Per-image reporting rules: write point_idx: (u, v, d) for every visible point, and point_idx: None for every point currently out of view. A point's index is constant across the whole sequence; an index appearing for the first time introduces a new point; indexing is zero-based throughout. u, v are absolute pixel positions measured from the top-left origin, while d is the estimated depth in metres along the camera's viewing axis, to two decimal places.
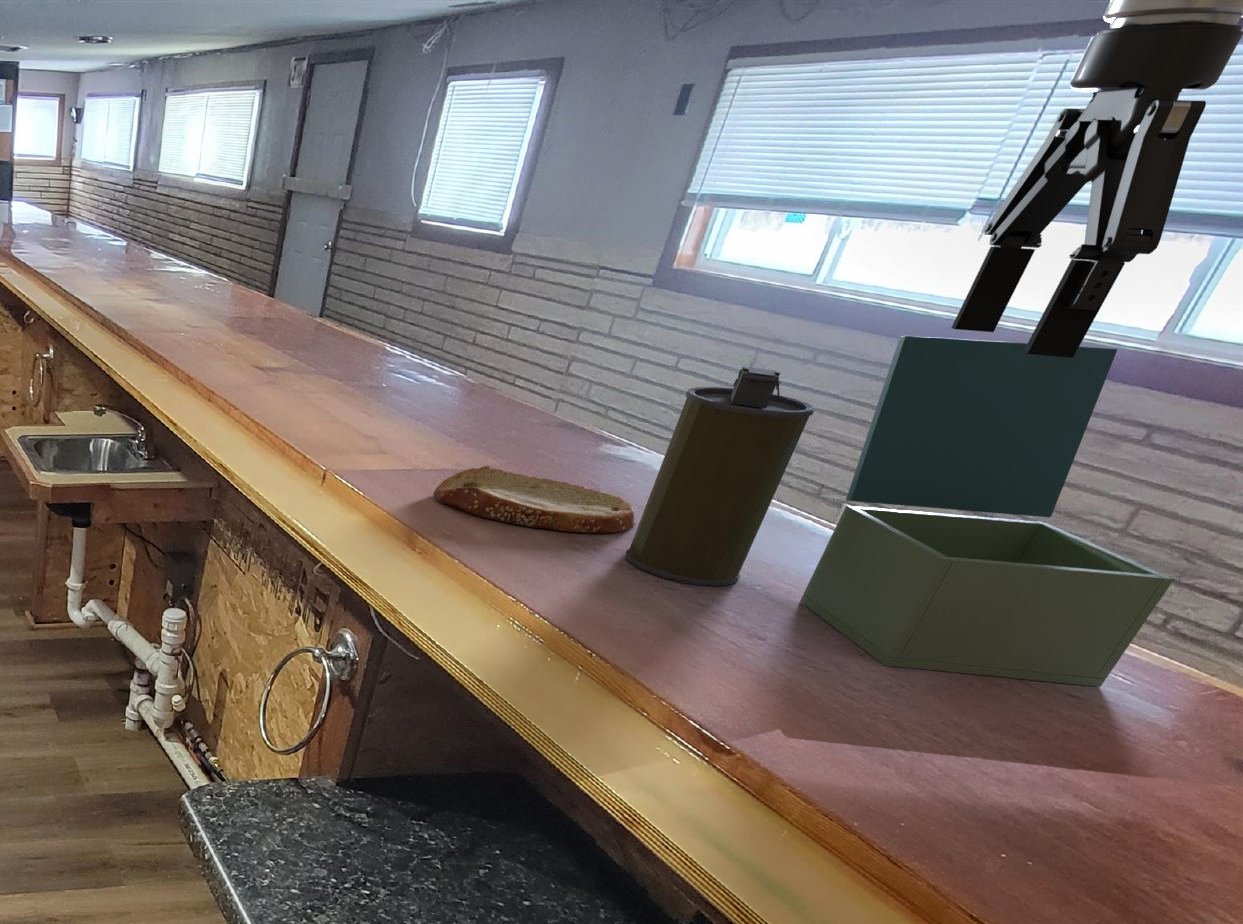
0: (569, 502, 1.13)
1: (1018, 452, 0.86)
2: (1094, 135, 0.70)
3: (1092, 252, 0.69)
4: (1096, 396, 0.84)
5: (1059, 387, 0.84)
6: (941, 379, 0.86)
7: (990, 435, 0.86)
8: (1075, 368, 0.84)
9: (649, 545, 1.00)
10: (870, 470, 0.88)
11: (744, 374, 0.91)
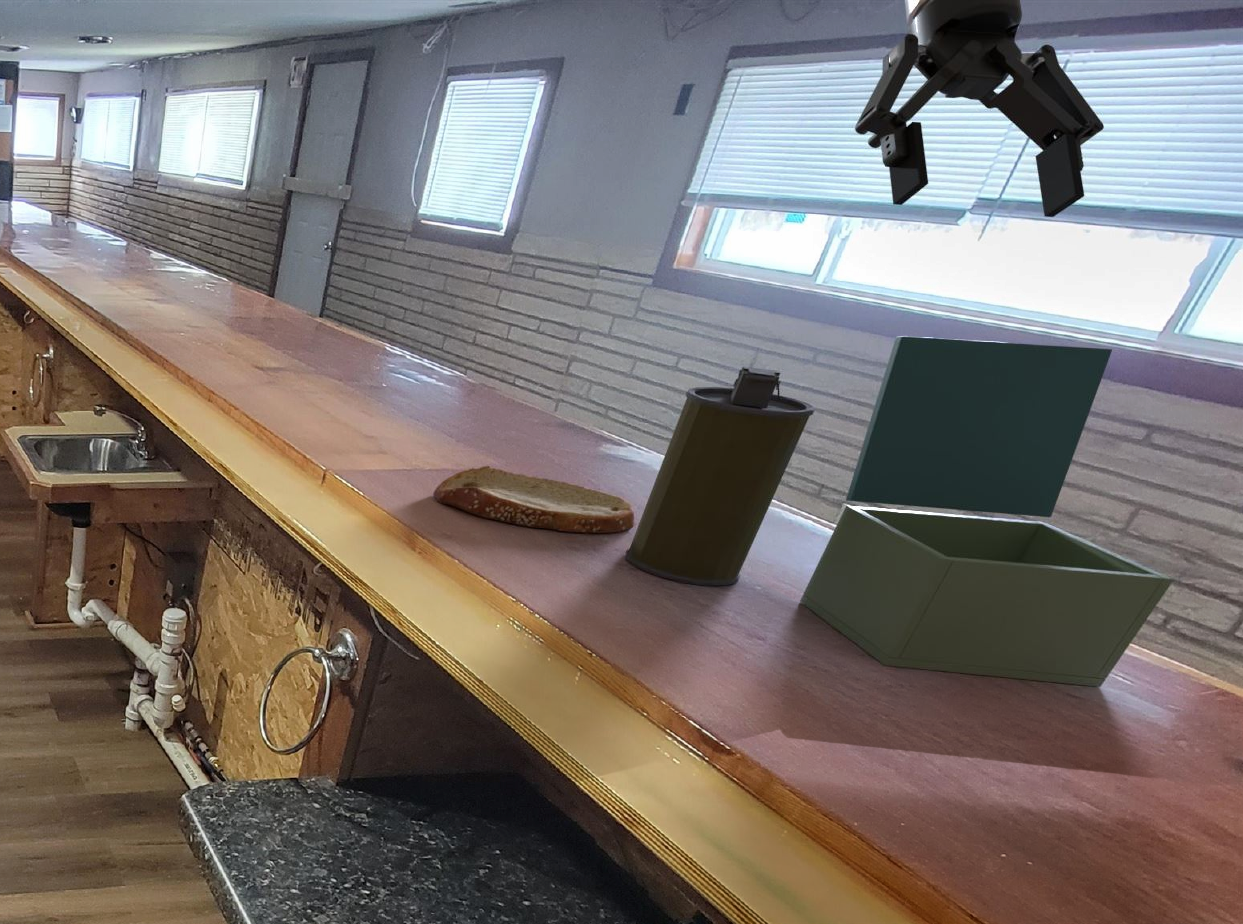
0: (569, 502, 1.13)
1: (1016, 452, 0.86)
2: None
3: (875, 136, 0.91)
4: (1092, 396, 0.85)
5: (1055, 387, 0.85)
6: (938, 379, 0.86)
7: (988, 435, 0.86)
8: (1071, 368, 0.84)
9: (649, 545, 1.00)
10: (869, 470, 0.89)
11: (744, 374, 0.91)
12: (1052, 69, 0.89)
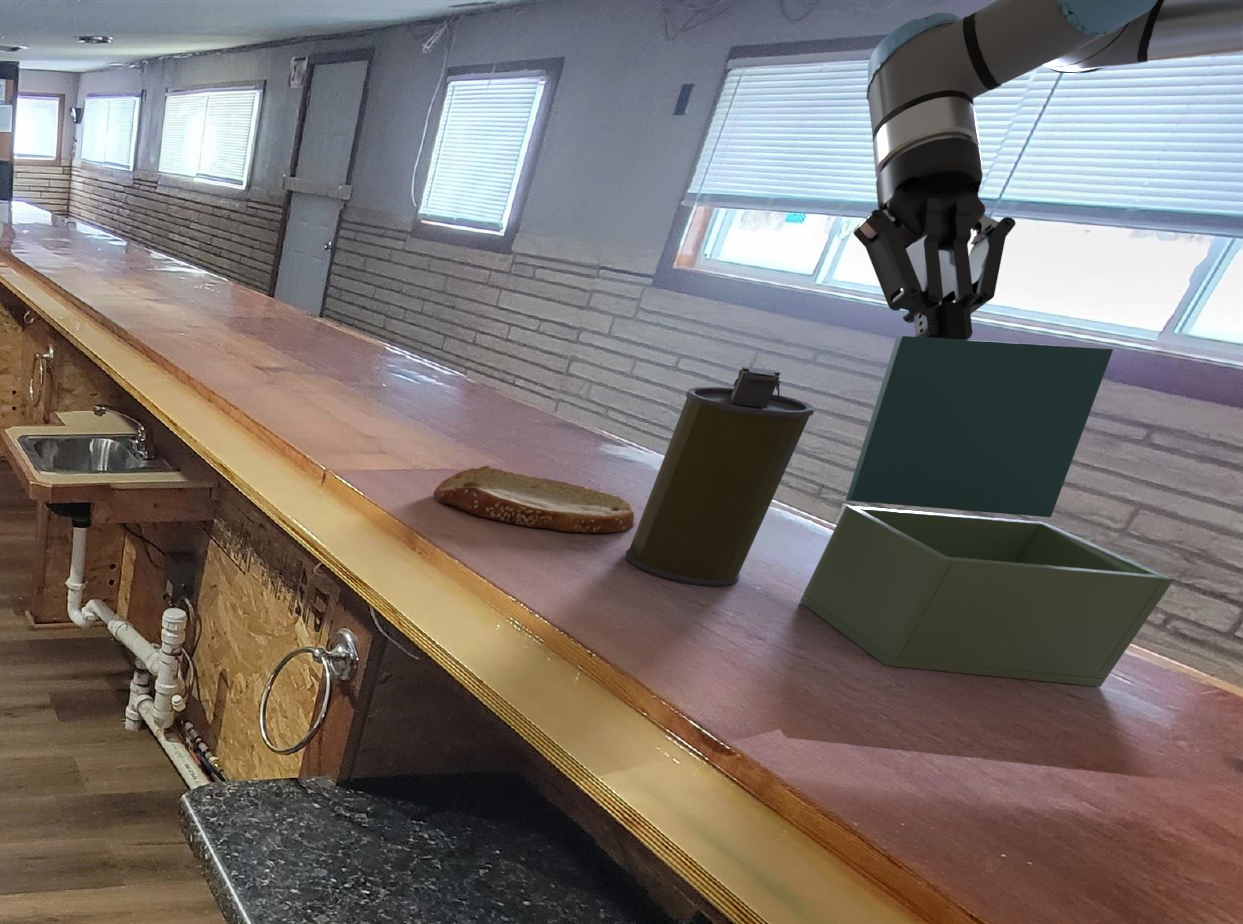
0: (569, 502, 1.13)
1: (1017, 452, 0.86)
2: None
3: (912, 315, 0.93)
4: (1093, 396, 0.84)
5: (1056, 387, 0.85)
6: (938, 379, 0.86)
7: (988, 435, 0.86)
8: (1071, 368, 0.84)
9: (649, 545, 1.00)
10: (869, 470, 0.88)
11: (744, 374, 0.91)
12: (995, 236, 0.92)
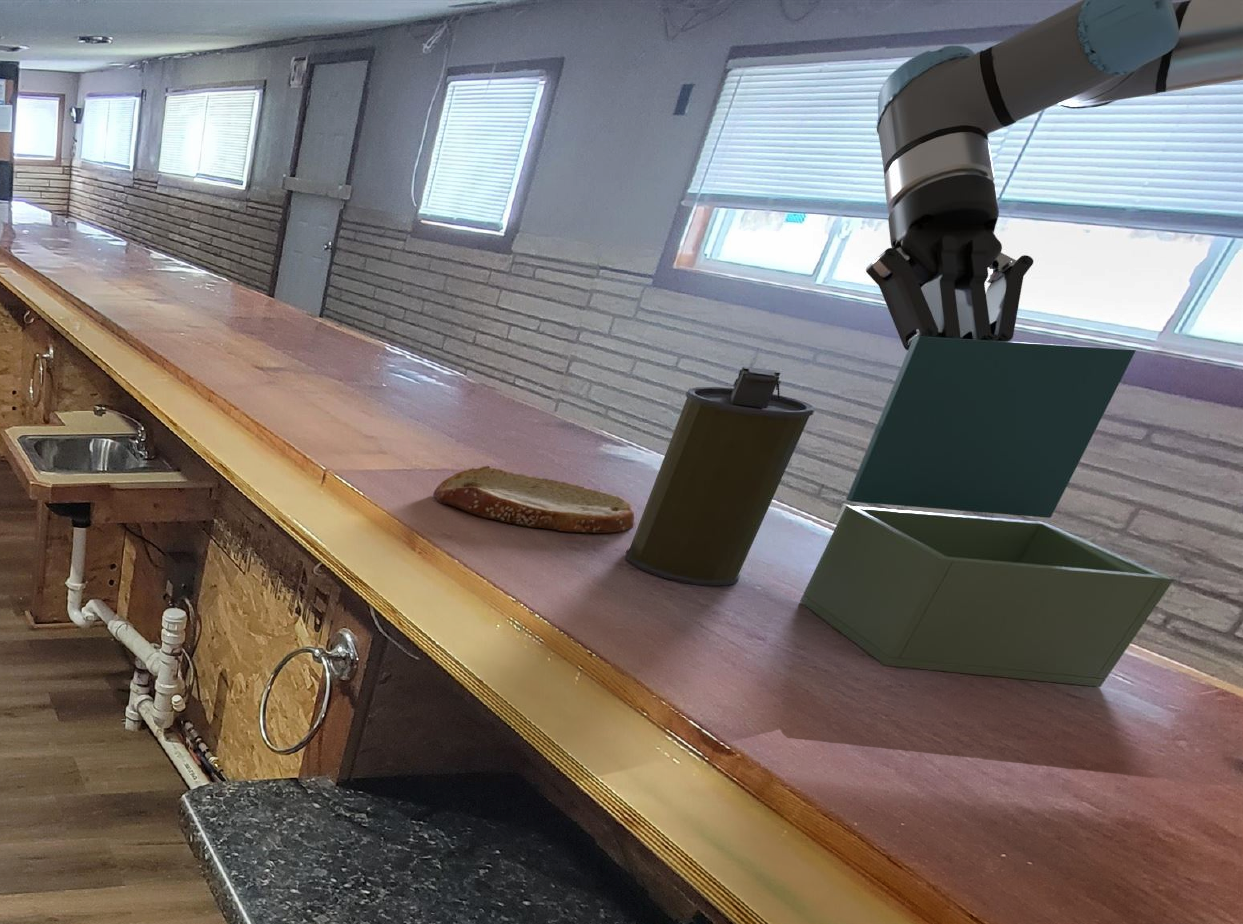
0: (569, 502, 1.13)
1: (1024, 453, 0.86)
2: None
3: None
4: (1109, 398, 0.83)
5: (1072, 388, 0.83)
6: (952, 380, 0.84)
7: (997, 437, 0.85)
8: (1090, 369, 0.82)
9: (649, 545, 1.00)
10: (872, 471, 0.88)
11: (744, 374, 0.91)
12: (1012, 275, 0.90)
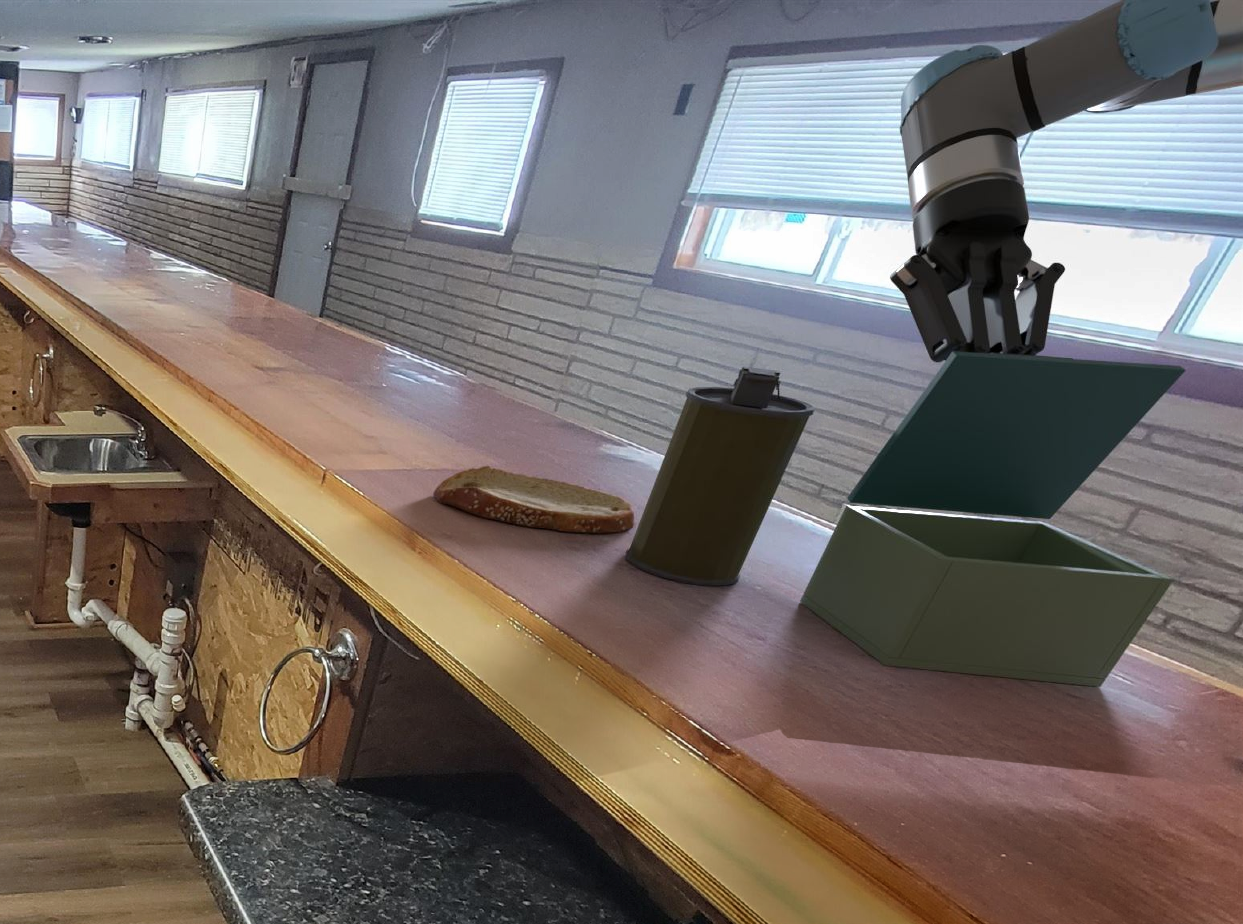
0: (569, 502, 1.13)
1: (1038, 463, 0.84)
2: None
3: None
4: (1142, 414, 0.80)
5: (1106, 405, 0.80)
6: (981, 397, 0.81)
7: (1014, 448, 0.84)
8: (1131, 388, 0.79)
9: (649, 545, 1.00)
10: (878, 477, 0.87)
11: (744, 374, 0.91)
12: (1043, 283, 0.86)
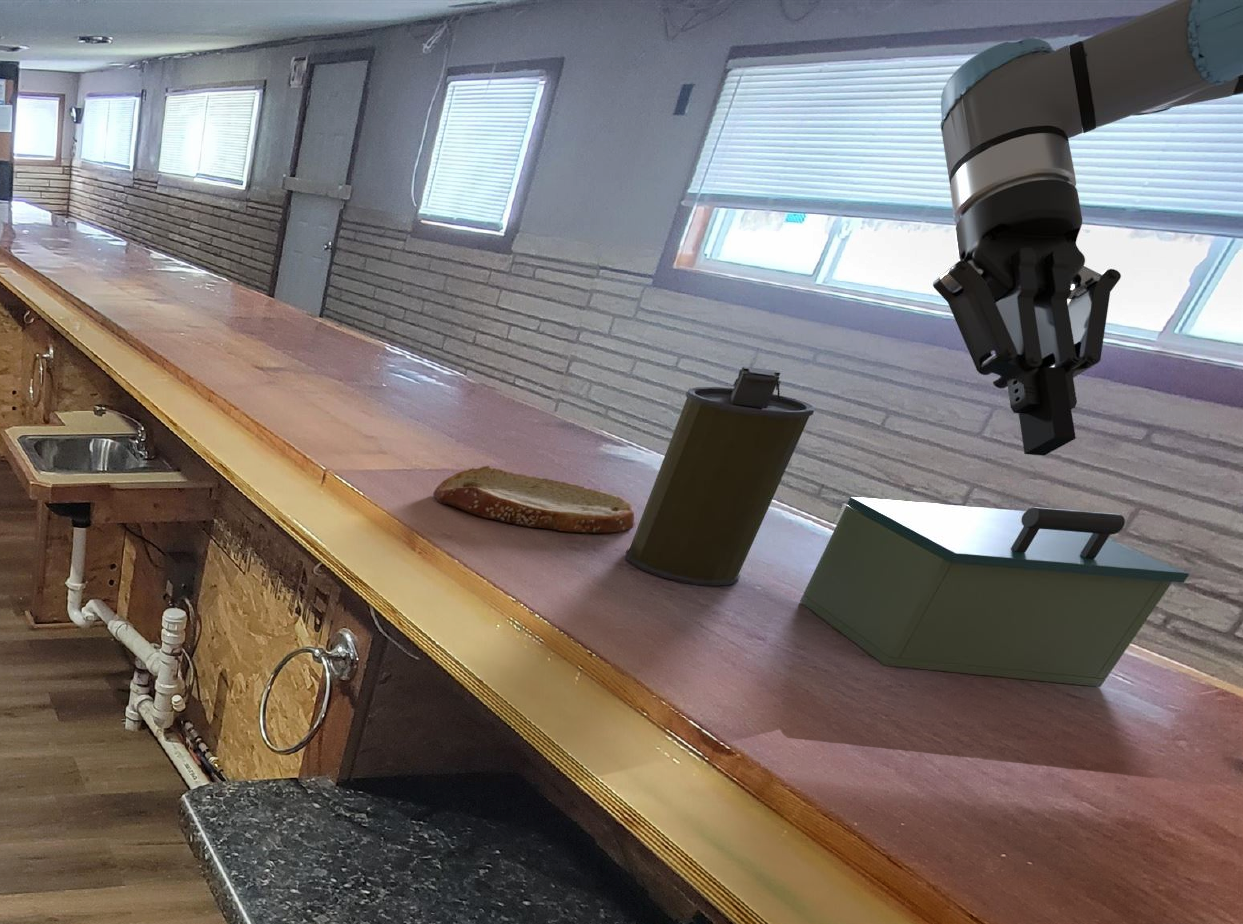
0: (569, 502, 1.13)
1: None
2: None
3: (1004, 381, 0.82)
4: None
5: None
6: None
7: None
8: None
9: (649, 545, 1.00)
10: None
11: (744, 374, 0.91)
12: (1098, 291, 0.81)
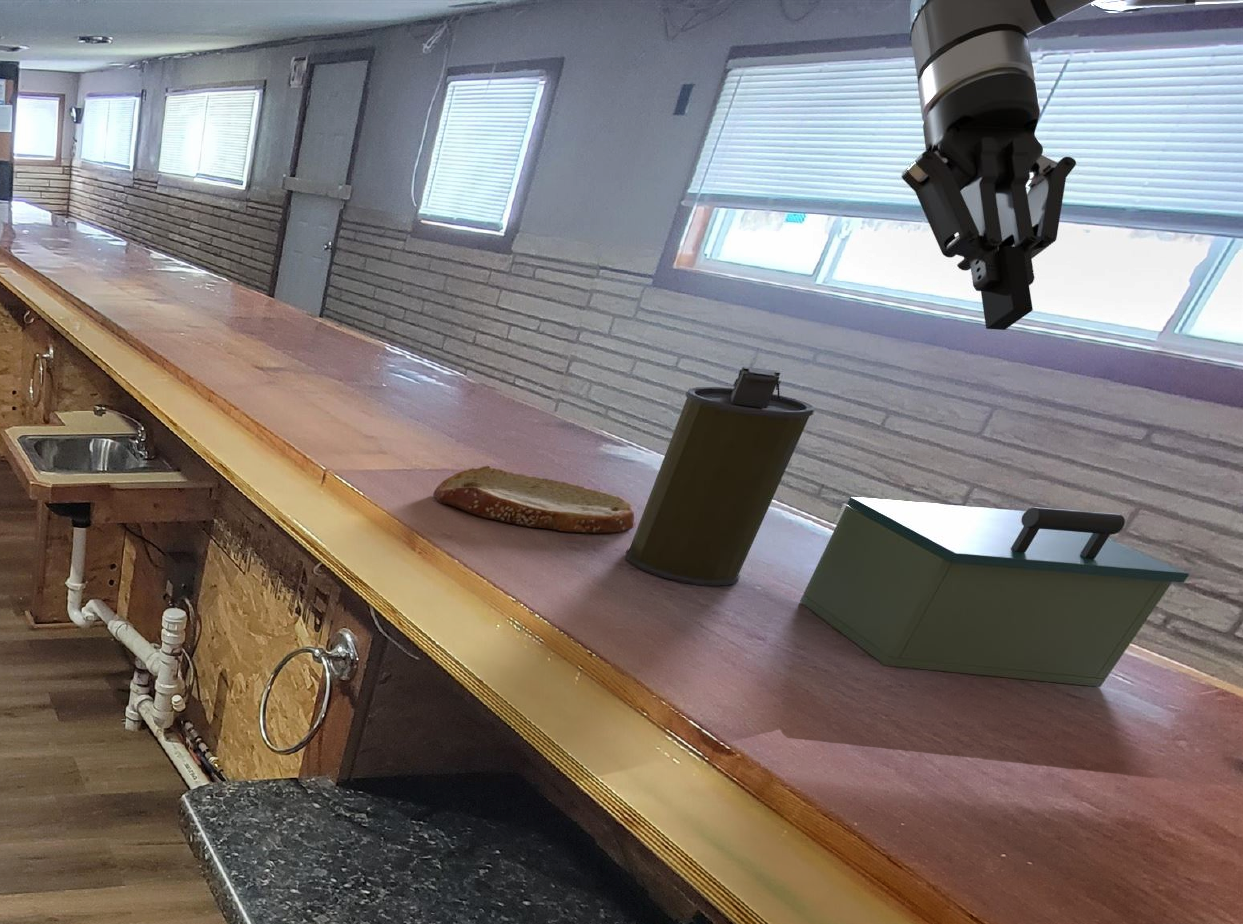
0: (569, 502, 1.13)
1: None
2: None
3: (967, 262, 0.88)
4: None
5: None
6: None
7: None
8: None
9: (649, 545, 1.00)
10: None
11: (744, 374, 0.91)
12: (1054, 177, 0.87)
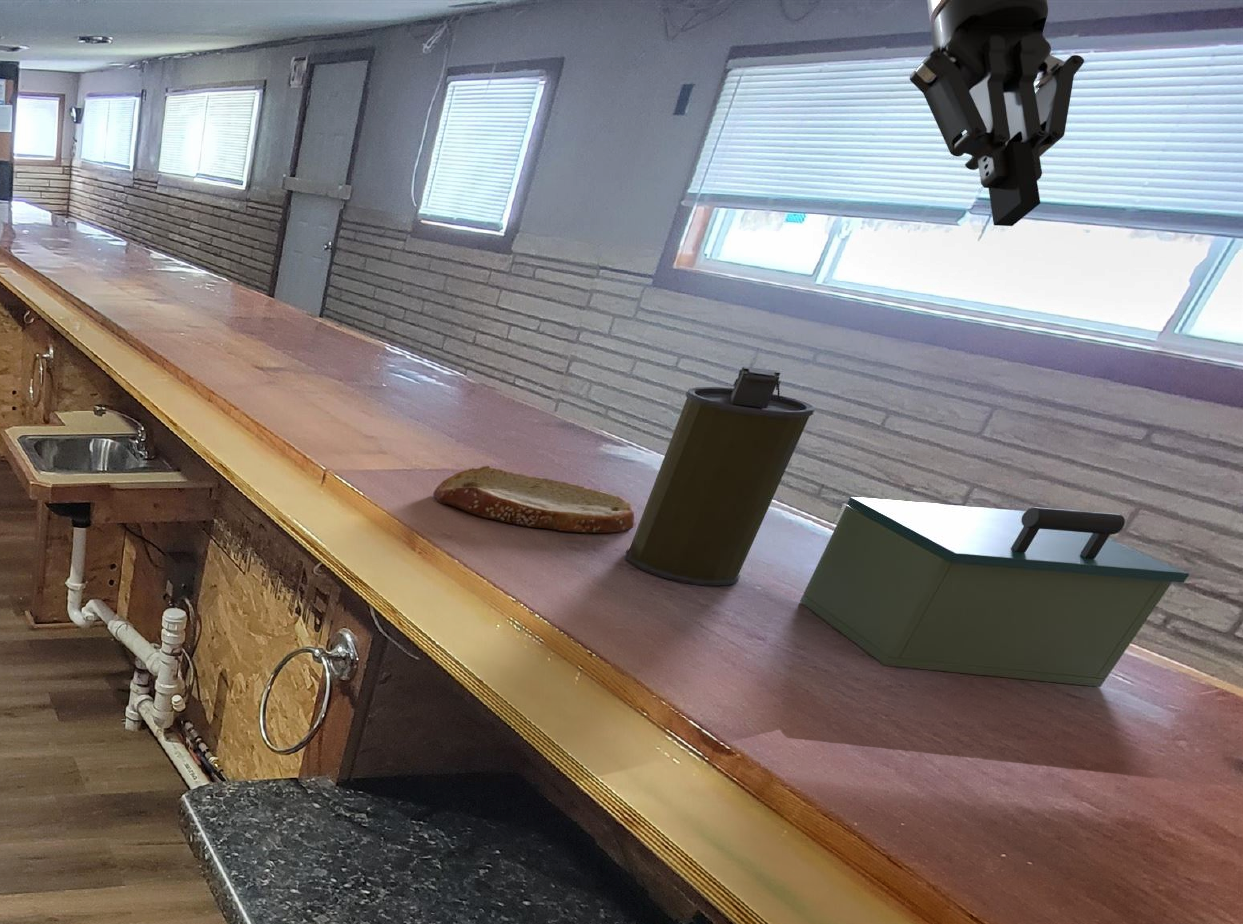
0: (569, 502, 1.13)
1: None
2: None
3: (975, 161, 0.88)
4: None
5: None
6: None
7: None
8: None
9: (649, 545, 1.00)
10: None
11: (744, 374, 0.91)
12: (1062, 74, 0.87)
